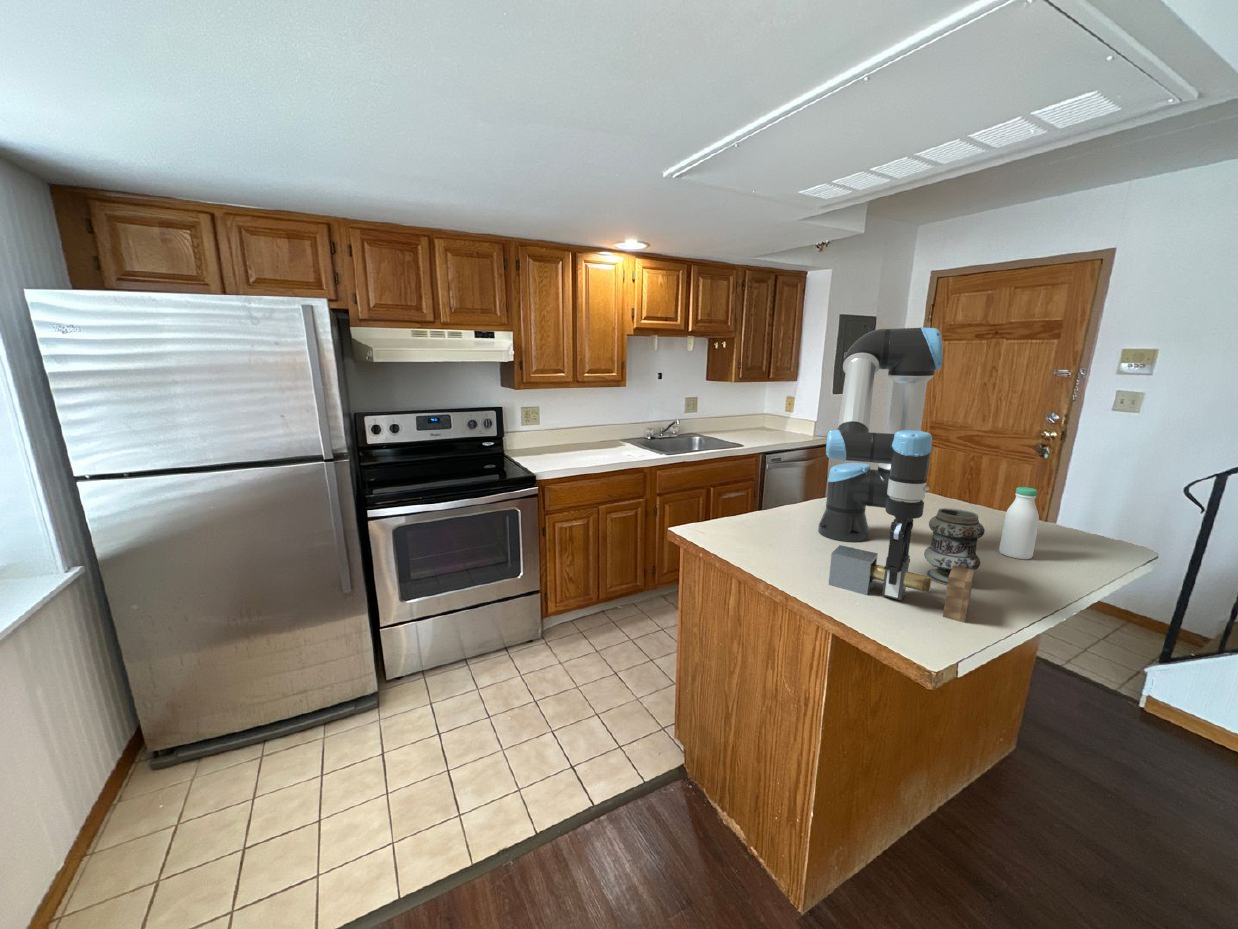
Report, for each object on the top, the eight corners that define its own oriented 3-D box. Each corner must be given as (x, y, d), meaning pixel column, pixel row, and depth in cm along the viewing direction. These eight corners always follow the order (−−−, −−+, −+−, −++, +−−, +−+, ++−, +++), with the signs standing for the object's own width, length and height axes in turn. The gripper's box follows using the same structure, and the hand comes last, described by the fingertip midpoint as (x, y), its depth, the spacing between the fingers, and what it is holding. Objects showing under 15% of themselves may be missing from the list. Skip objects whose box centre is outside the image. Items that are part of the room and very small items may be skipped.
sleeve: (828, 584, 123) (831, 553, 122) (836, 575, 129) (839, 545, 127) (867, 595, 118) (870, 562, 116) (874, 585, 123) (877, 553, 121)
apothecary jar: (964, 571, 131) (974, 506, 127) (986, 591, 120) (998, 521, 116) (914, 567, 134) (922, 504, 130) (931, 586, 122) (941, 518, 119)
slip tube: (834, 582, 124) (837, 547, 122) (839, 575, 127) (843, 541, 125) (925, 607, 111) (931, 568, 109) (929, 599, 115) (934, 561, 113)
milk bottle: (1038, 561, 138) (1051, 492, 133) (1007, 559, 139) (1019, 491, 135) (1022, 551, 145) (1034, 485, 141) (993, 549, 146) (1003, 484, 142)
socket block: (942, 616, 108) (948, 576, 106) (947, 603, 114) (953, 565, 112) (964, 622, 105) (971, 581, 103) (968, 608, 111) (974, 569, 109)
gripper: (917, 510, 103) (904, 610, 108) (930, 492, 117) (918, 582, 122) (878, 503, 108) (867, 600, 113) (895, 487, 121) (885, 574, 126)
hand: (894, 591), depth 117 cm, fingers closed on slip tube, 5 cm apart
